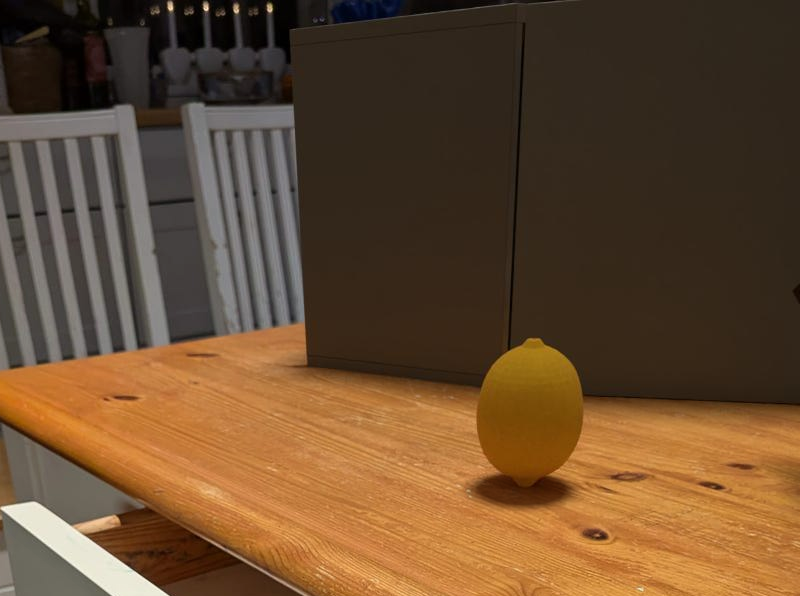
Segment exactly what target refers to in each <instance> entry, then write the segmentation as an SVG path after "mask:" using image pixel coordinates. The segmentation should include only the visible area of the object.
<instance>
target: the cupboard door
mask: <svg viewBox="0 0 800 596" xmlns="http://www.w3.org/2000/svg"><path fill="white" fill-rule="evenodd" d="M526 4H527V5H526V26H525V47H524V68H523V89H522V110H521V131H520V152H519V173H518V195H517V216H516V237H515V258H514V279H513V300H512V321H511V342H510V350H512V349H514V348H516V347H519V346H521V345H523V344H524V342H525V341H526V340H527V339H530V338H539V339H541V340H542V342H543V343H544V344H545V345H546V346H549V347H551V348H553V349H555V350H557V351H558V352H560V353H561V354H563V355H564V356H565V357H566V358H567V359H568V360H569V361H570V362H571V364H572V365H573V366H574V368H575V370H576V372H577V374H578V377H579V381H580V385H581V389H582V396H592V397H593V396H596V397H616V398H617V397H618V398H619V397H620V398H639V399H640V398H641V399H642V398H644V399H666V400H668V399H669V400H672V399H673V400H692V401H715V402H716V401H717V402H737V403H739V402H740V403H741V402H743V403H765V404H766V403H767V404H785V405H786V404H789V405H790V404H791V405H800V304H799V303H798V301H797V299H796V297H795V295H794V293H793V292H792V290H793V289H794V288H795V287H796V286H797V285H798V284H799V283H800V0H557V1H545V2H543V1H542V2H531V3H526Z"/></svg>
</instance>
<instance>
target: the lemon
mask: <svg viewBox="0 0 800 596" xmlns="http://www.w3.org/2000/svg"><path fill="white" fill-rule="evenodd" d="M478 395H479V396H478V401H477V406H476V420H475V421H476V432H477V437H478V441H479V444H480V449H481V450H482V453H483V455H484V457H485V458H486V460H487V461H488V462H489V463H490V464H491V466H492V467H493V468H495V470H496V471H498V472H500V473H501V474H503V475H505V476H508V477H510V478H512V480H513V481H514V482H515V483H516V484H517V485H518V487H520V488H525V489H526V488H530V487H532V486H533V485H534V484H535V483H537V481H539V480H540V479H541V478H543V477H546V476H550V475H551V474H552V473H554V472H556V471H558V470H559V469H561V467H563V466H564V464H565V463H566V462H567V461H568V460H569V458H571V456H572V454H573V453H574V451H575V450H576V447H577V445H578V443H579V440H580V438H581V433H582V429H583V423H584V413H585V412H584V411H585V410H584V409H585V408H584V397H583V396H584V395H582V389H581V385H580V381H579V377H578V374H577V372H576V370H575V368H574V366H573V365H572V364H571V362H570V361H569V360H568V359H567V358H566V357H565V356H564V355H563V354H561V353H560V352H558V351H557V350H555V349H553V348H551V347H549V346H546V345H545V344H544V343H543V342H542V340H541V339H539V338H530V339H527V340H526V341H525V342H524V344H523V345H521V346H519V347H516V348H514V349H512V350H510V351H508V352H507V353H505V354H504V355H502V356H501V357H500V358H499V359H498V360H497V361H496V362H495V363H494V364H493V365H492V367H491V368H490V370H489V372H488V373H487V375H486V377H485V379H484V382H483V385H482V388H480V391H479V394H478Z"/></svg>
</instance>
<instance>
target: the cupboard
mask: <svg viewBox="0 0 800 596" xmlns="http://www.w3.org/2000/svg"><path fill="white" fill-rule="evenodd" d="M527 4H528V3H521V2H513V3H505V4H496V5H487V6H477V7H472V8H471V7H469V8H462V9H453V10H445V11H436V12H429V13H428V12H427V13H419V14H412V15H403V16H393V17H385V18H376V19H369V20H368V19H367V20H359V21H351V22H342V23H334V24H326V25H317V26H316V25H315V26H308V27H301V28H299V27H298V28H293V29H292V28H291V29H289V46H290V48H289V49H290V50H289V51H290V68H291V69H290V70H291V86H292V106H293V107H292V108H293V125H294V126H293V127H294V145H295V160H296V161H295V162H296V164H295V165H296V182H297V184H296V185H297V200H298V201H297V202H298V219H299V238H300V256H301V257H300V259H301V274H302V275H301V277H302V294H303V295H302V296H303V313H304V314H303V317H304V332H305V333H304V334H305V351H306V366H307V367H313V368H322V369H329V370H337V371H344V372H353V373H361V374H368V375H376V376H386V377H393V378H399V379H408V380H416V381H423V382H431V383H438V384H439V383H440V384H446V385H447V384H449V385H457V386H464V387H472V388H480V389H481V388H482V385H483V382H484V379H485V377H486V375H487V373H488V372H489V370H490V368H491V367H492V365H493V364H494V363H495V362H496V361H497V360H498V359H499V358H500V357H501V356H502V355H504V354H505V353H507V352H508V351H510V342H511V321H512V300H513V279H514V258H515V237H516V216H517V195H518V173H519V152H520V131H521V110H522V89H523V68H524V47H525V26H526V5H527Z"/></svg>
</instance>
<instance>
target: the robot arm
mask: <svg viewBox="0 0 800 596" xmlns="http://www.w3.org/2000/svg"><path fill="white" fill-rule="evenodd" d="M792 292H793V293H794V295H795V297H796V299H797V301H798V303H799V304H800V283H799V284H798V285H797V286H796V287H795V288H794V289H793V290H792Z"/></svg>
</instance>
